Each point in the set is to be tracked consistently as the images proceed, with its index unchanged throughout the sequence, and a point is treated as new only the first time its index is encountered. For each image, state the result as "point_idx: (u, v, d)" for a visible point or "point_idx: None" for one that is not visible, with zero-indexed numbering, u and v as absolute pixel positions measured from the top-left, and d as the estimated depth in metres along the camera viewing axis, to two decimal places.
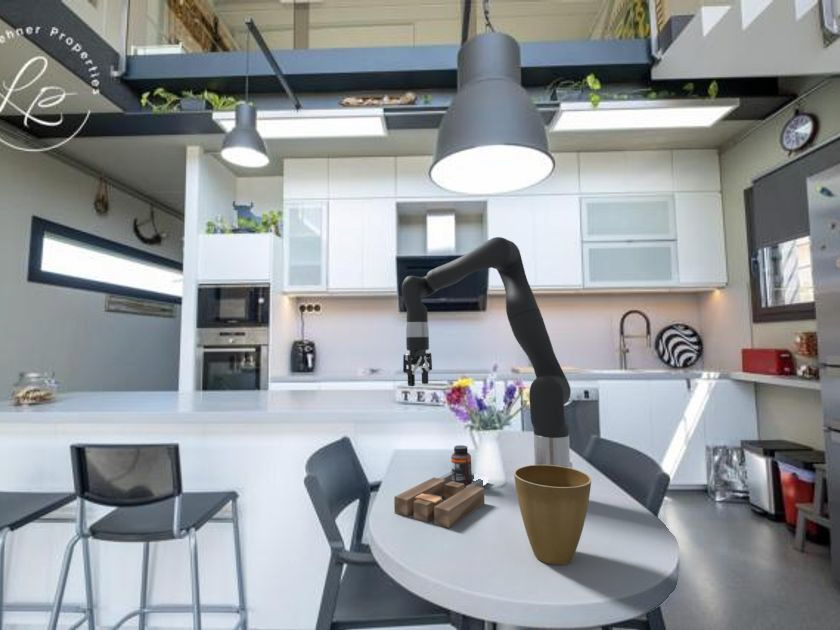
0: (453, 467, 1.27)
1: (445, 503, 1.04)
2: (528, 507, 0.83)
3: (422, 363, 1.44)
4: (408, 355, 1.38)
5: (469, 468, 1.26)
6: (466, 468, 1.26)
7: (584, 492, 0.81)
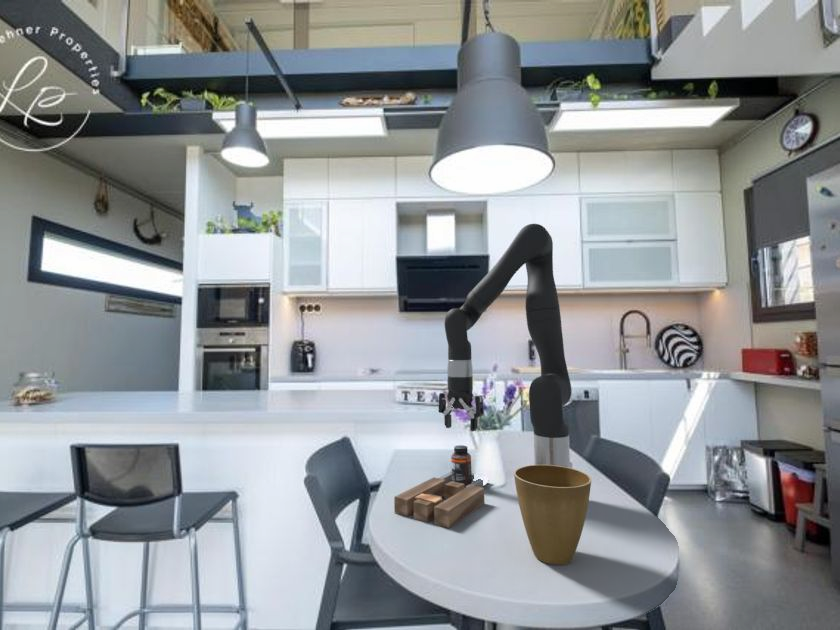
0: (453, 467, 1.27)
1: (445, 503, 1.04)
2: (528, 507, 0.83)
3: None
4: (480, 396, 1.26)
5: (469, 468, 1.26)
6: (466, 468, 1.26)
7: (584, 492, 0.81)
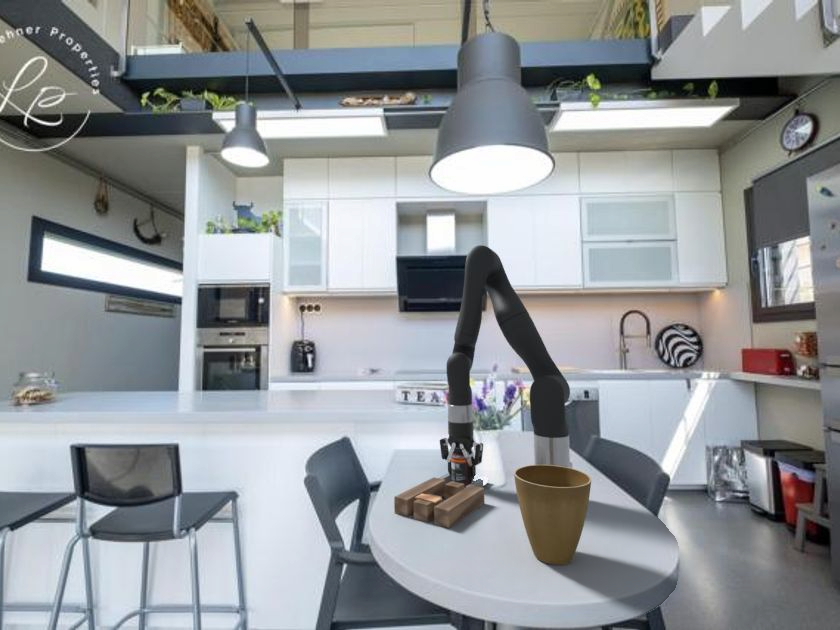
0: (453, 467, 1.27)
1: (445, 503, 1.04)
2: (528, 507, 0.83)
3: None
4: (481, 444, 1.25)
5: None
6: (466, 468, 1.26)
7: (584, 492, 0.81)
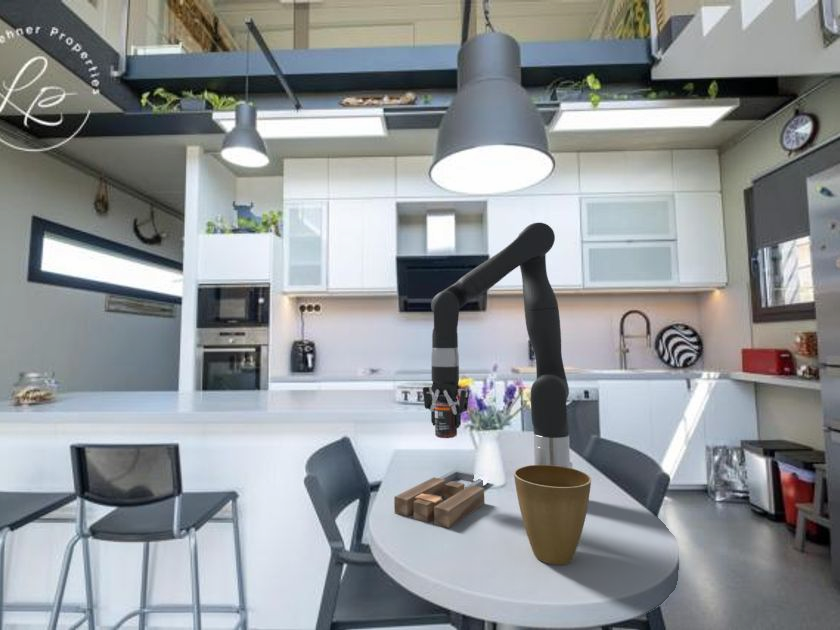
0: (436, 416, 1.16)
1: (445, 503, 1.04)
2: (528, 507, 0.83)
3: None
4: (467, 391, 1.14)
5: None
6: (450, 417, 1.14)
7: (584, 492, 0.81)
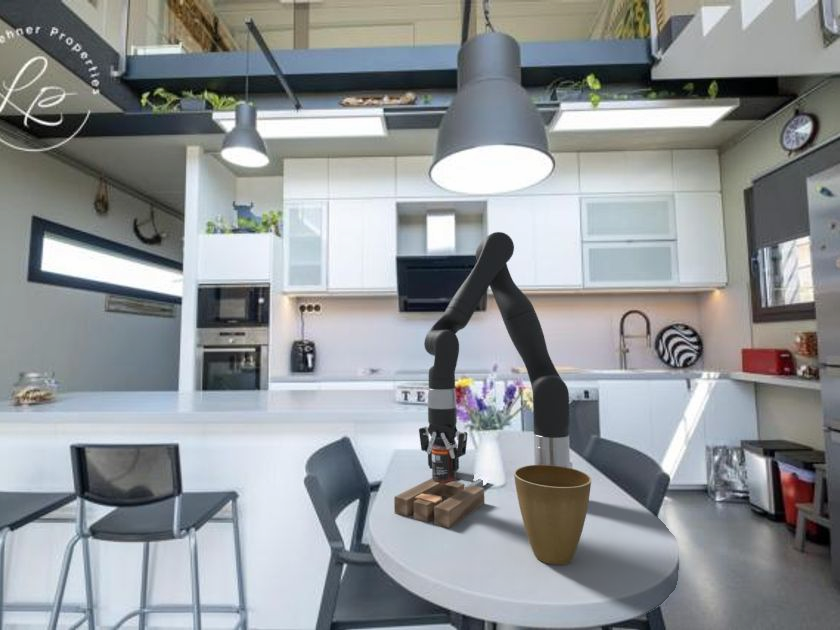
0: (433, 459, 1.12)
1: (445, 503, 1.04)
2: (528, 507, 0.83)
3: None
4: (465, 434, 1.10)
5: None
6: (448, 461, 1.10)
7: (584, 492, 0.81)
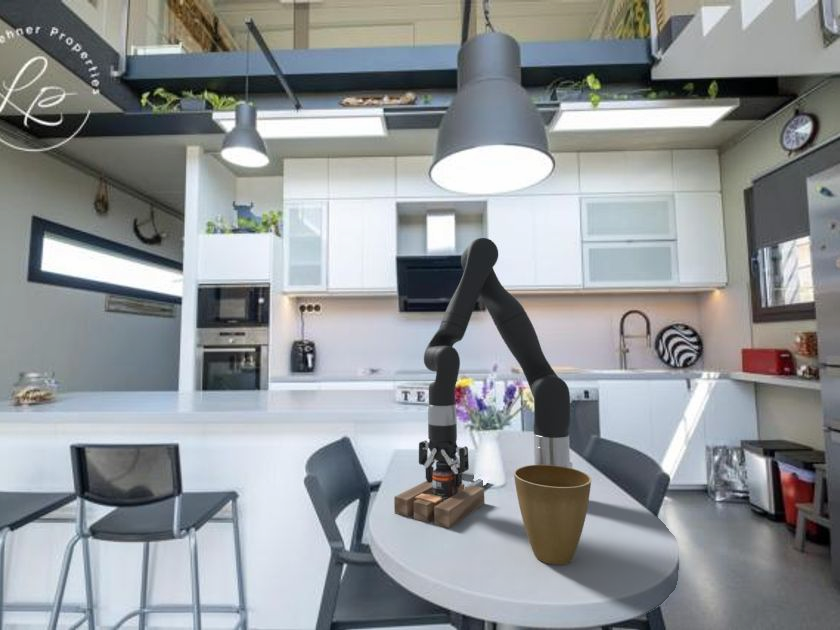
0: (434, 486, 1.11)
1: (445, 503, 1.04)
2: (528, 507, 0.83)
3: None
4: (465, 448, 1.10)
5: (453, 487, 1.11)
6: (449, 487, 1.10)
7: (584, 492, 0.81)
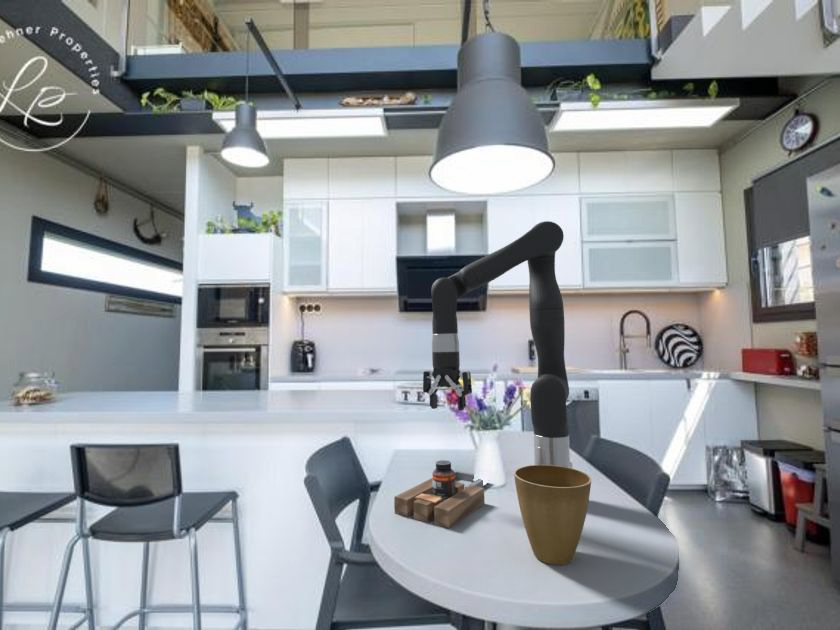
0: (434, 486, 1.11)
1: (445, 503, 1.04)
2: (528, 507, 0.83)
3: None
4: (468, 372, 1.16)
5: (452, 487, 1.11)
6: (449, 487, 1.10)
7: (584, 492, 0.81)
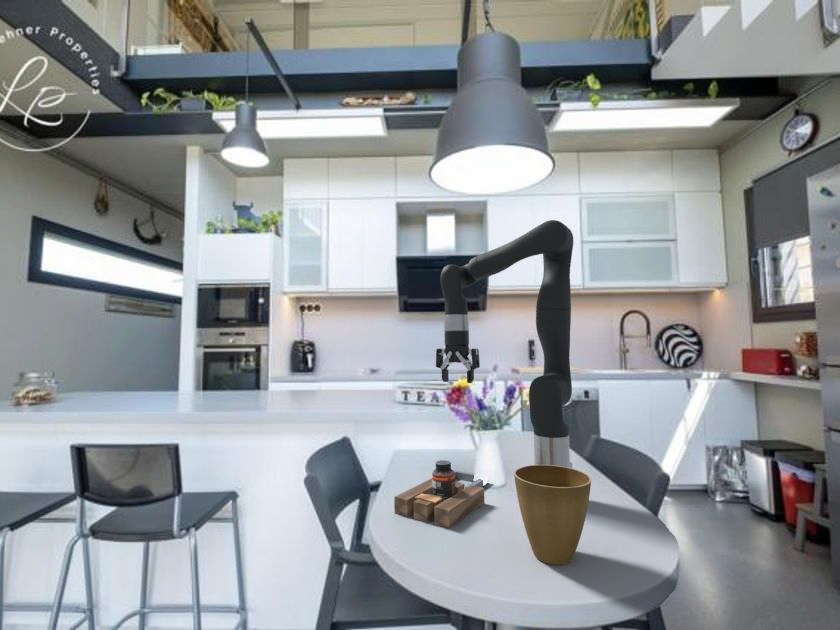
0: (434, 486, 1.11)
1: (445, 503, 1.04)
2: (528, 507, 0.83)
3: None
4: (476, 349, 1.30)
5: (452, 487, 1.11)
6: (448, 487, 1.10)
7: (584, 492, 0.81)
